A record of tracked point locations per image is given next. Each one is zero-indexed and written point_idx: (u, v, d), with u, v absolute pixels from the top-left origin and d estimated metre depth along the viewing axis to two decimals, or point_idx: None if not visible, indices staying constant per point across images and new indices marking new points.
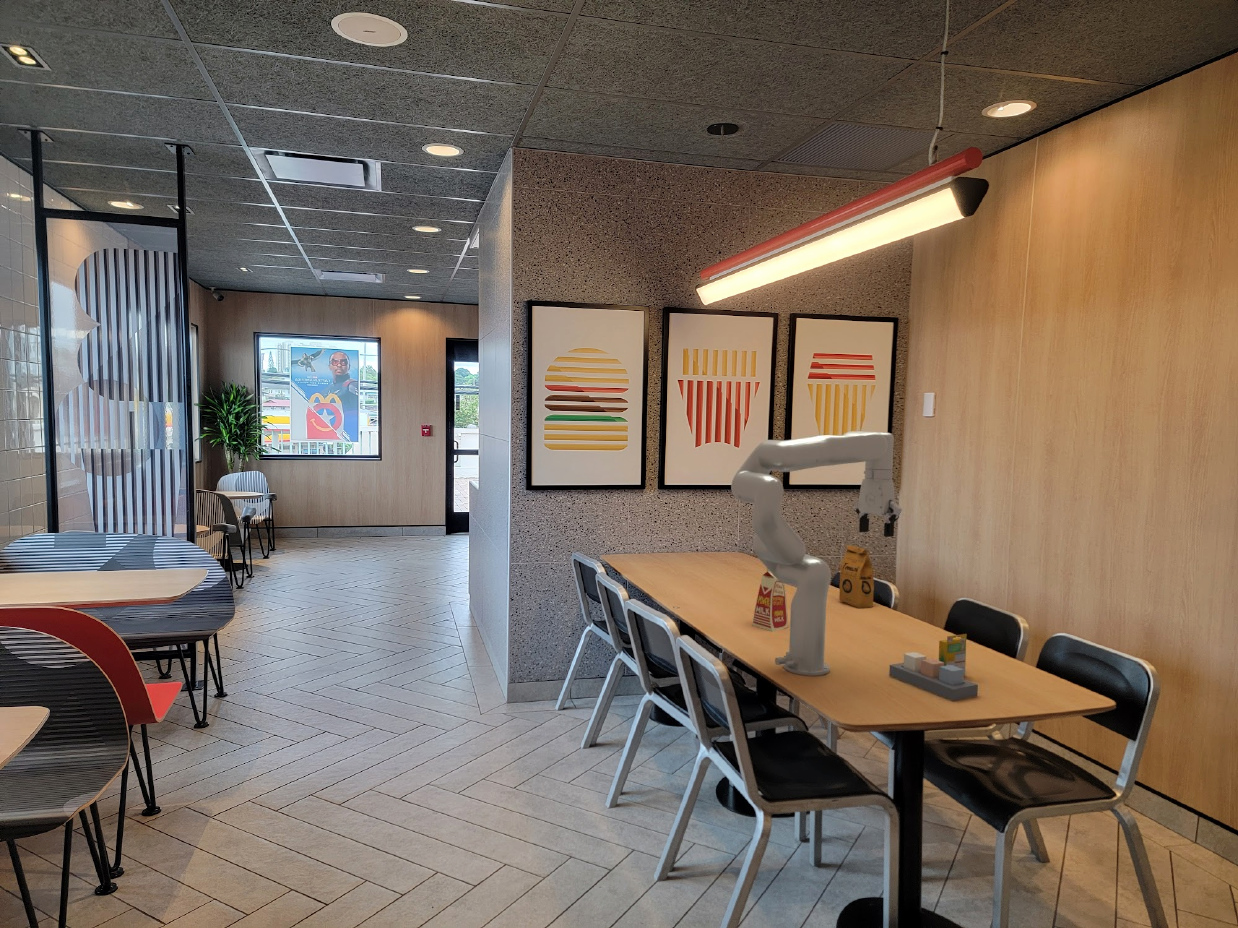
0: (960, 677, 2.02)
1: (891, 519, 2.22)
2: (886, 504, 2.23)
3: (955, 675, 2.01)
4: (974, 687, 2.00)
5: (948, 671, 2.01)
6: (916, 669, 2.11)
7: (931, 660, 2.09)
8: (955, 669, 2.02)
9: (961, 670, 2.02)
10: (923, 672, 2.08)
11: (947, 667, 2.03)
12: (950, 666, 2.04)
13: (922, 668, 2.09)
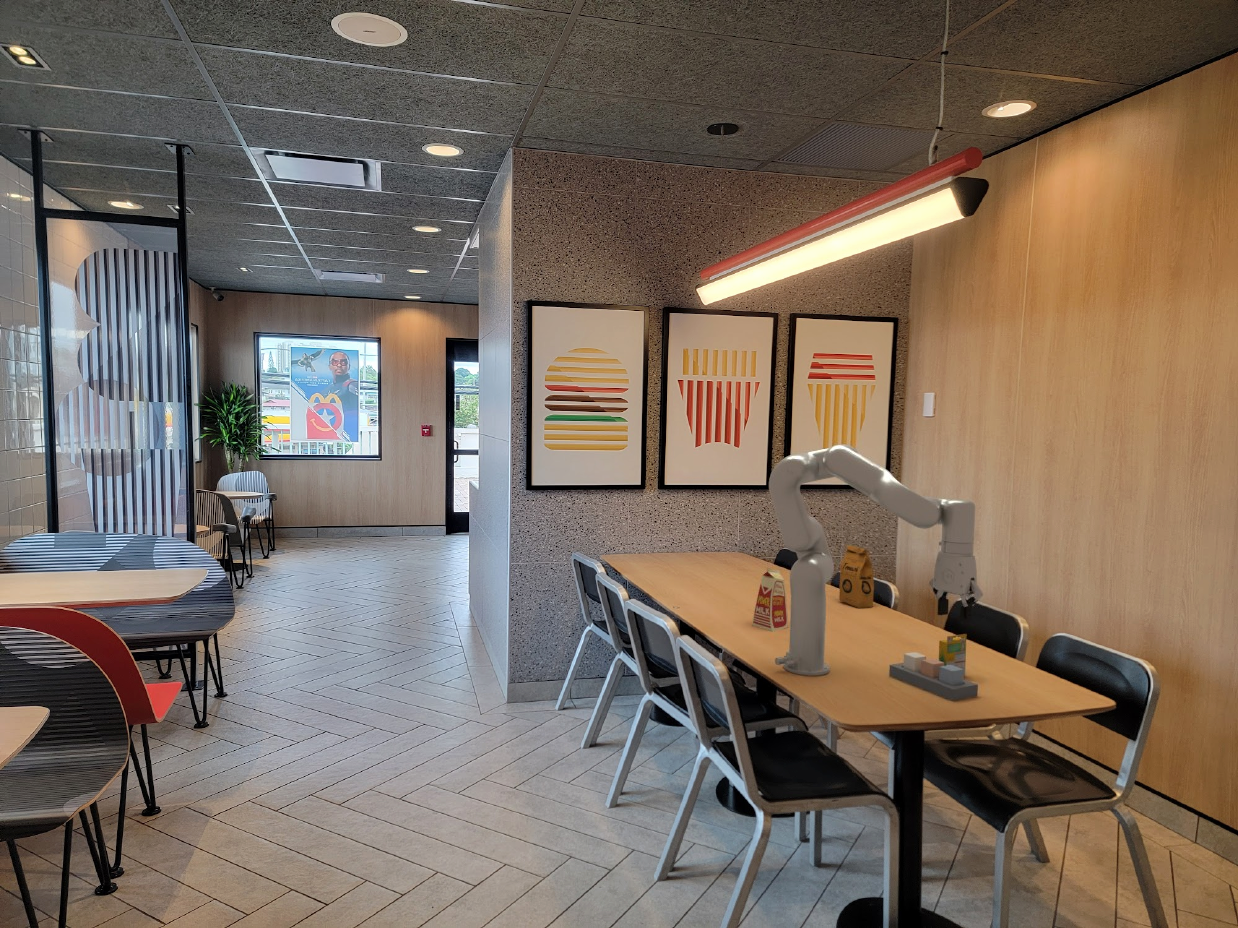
0: (960, 677, 2.02)
1: (969, 602, 1.97)
2: (968, 583, 1.96)
3: (955, 675, 2.01)
4: (974, 687, 2.00)
5: (948, 671, 2.01)
6: (916, 669, 2.11)
7: (931, 660, 2.09)
8: (955, 669, 2.02)
9: (961, 670, 2.02)
10: (923, 672, 2.08)
11: (947, 667, 2.03)
12: (950, 666, 2.04)
13: (922, 668, 2.09)
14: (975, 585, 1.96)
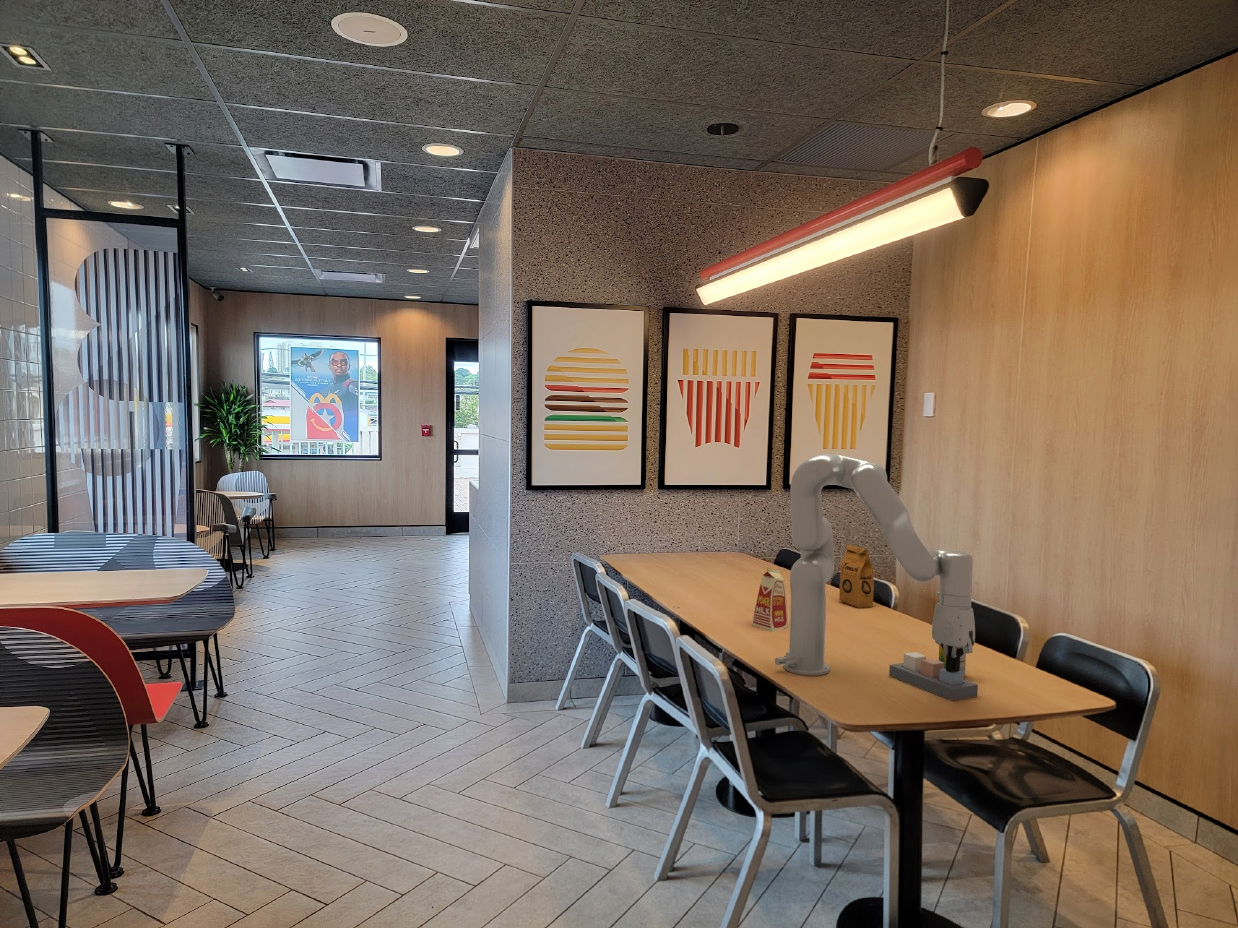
0: (960, 680, 2.02)
1: (957, 653, 2.00)
2: (966, 636, 1.97)
3: (954, 678, 2.01)
4: (974, 687, 2.00)
5: (947, 674, 2.01)
6: (916, 669, 2.11)
7: (931, 660, 2.09)
8: (955, 672, 2.02)
9: (961, 673, 2.02)
10: (923, 672, 2.08)
11: None
12: None
13: (922, 668, 2.09)
14: (969, 641, 1.98)
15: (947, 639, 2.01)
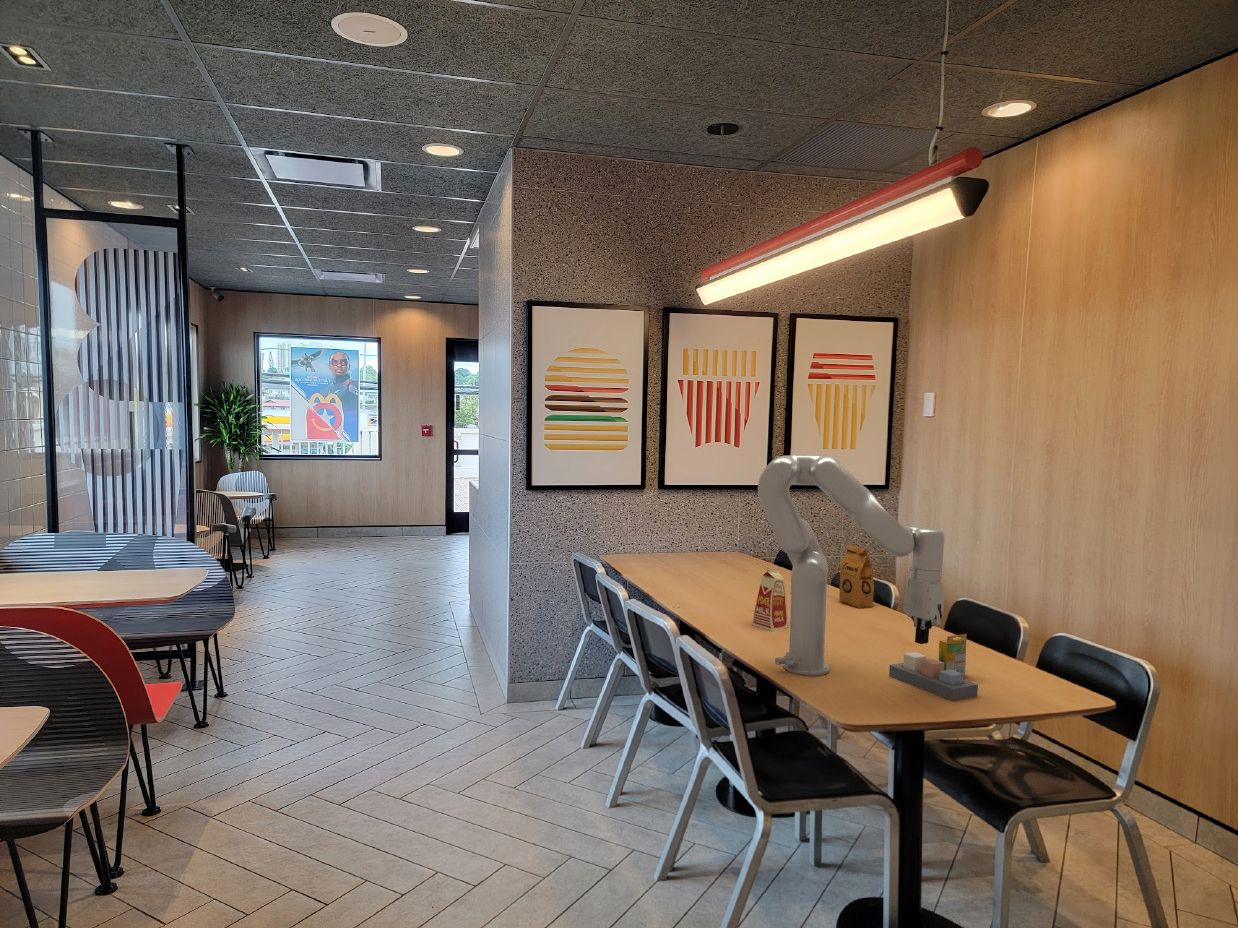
0: (960, 682, 2.02)
1: (926, 626, 2.08)
2: (934, 609, 2.05)
3: (954, 680, 2.01)
4: (974, 687, 2.00)
5: (947, 676, 2.01)
6: (916, 669, 2.11)
7: (931, 660, 2.09)
8: (955, 674, 2.02)
9: (961, 675, 2.02)
10: (923, 672, 2.08)
11: (947, 672, 2.03)
12: (950, 671, 2.04)
13: (922, 668, 2.09)
14: (937, 614, 2.06)
15: (917, 612, 2.09)
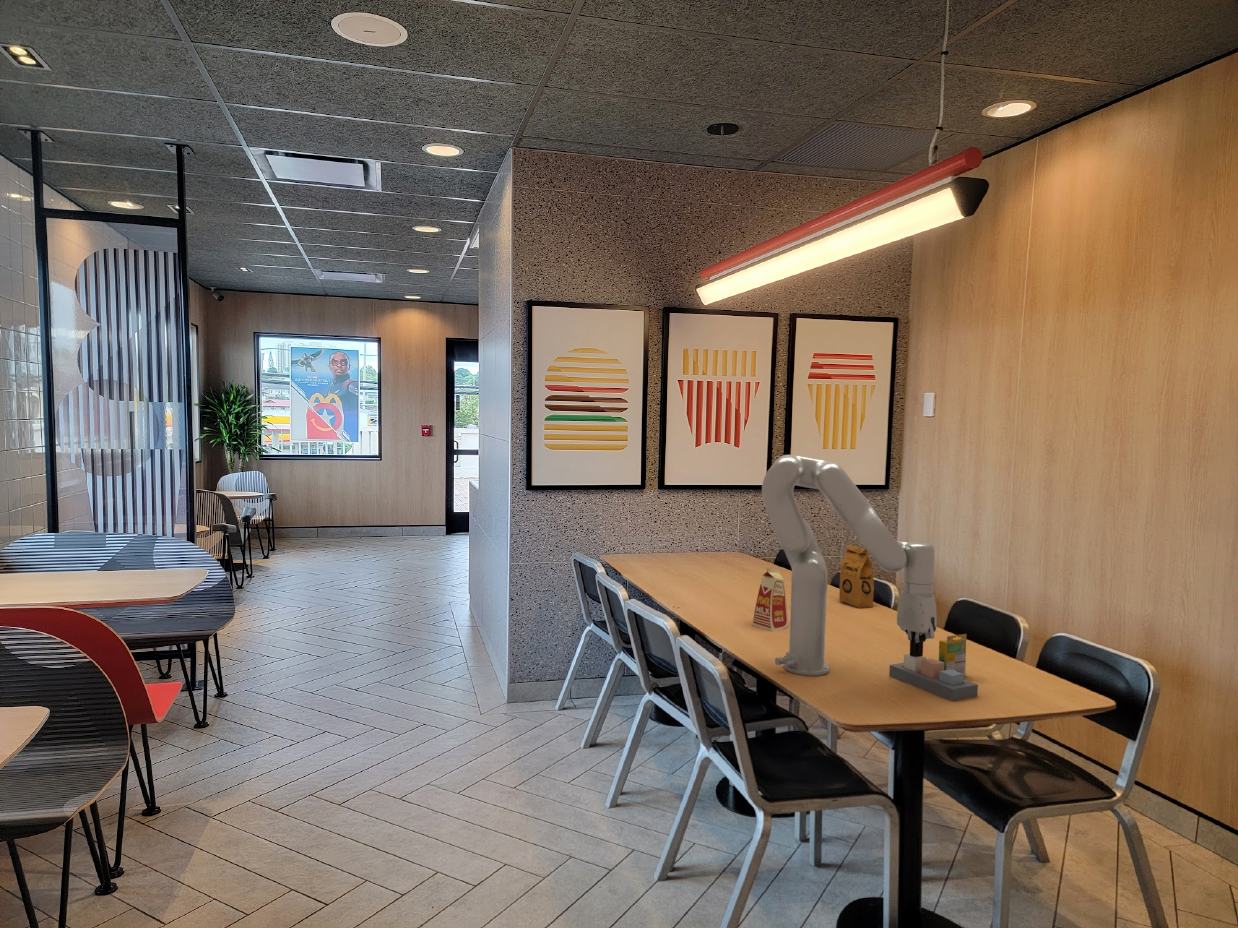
0: (960, 682, 2.02)
1: (920, 639, 2.11)
2: (928, 622, 2.08)
3: (954, 680, 2.01)
4: (974, 687, 2.00)
5: (947, 676, 2.01)
6: (916, 670, 2.11)
7: (931, 660, 2.09)
8: (955, 674, 2.02)
9: (961, 675, 2.02)
10: (923, 672, 2.08)
11: (947, 672, 2.03)
12: (950, 671, 2.04)
13: (922, 668, 2.09)
14: (931, 627, 2.09)
15: (910, 625, 2.11)
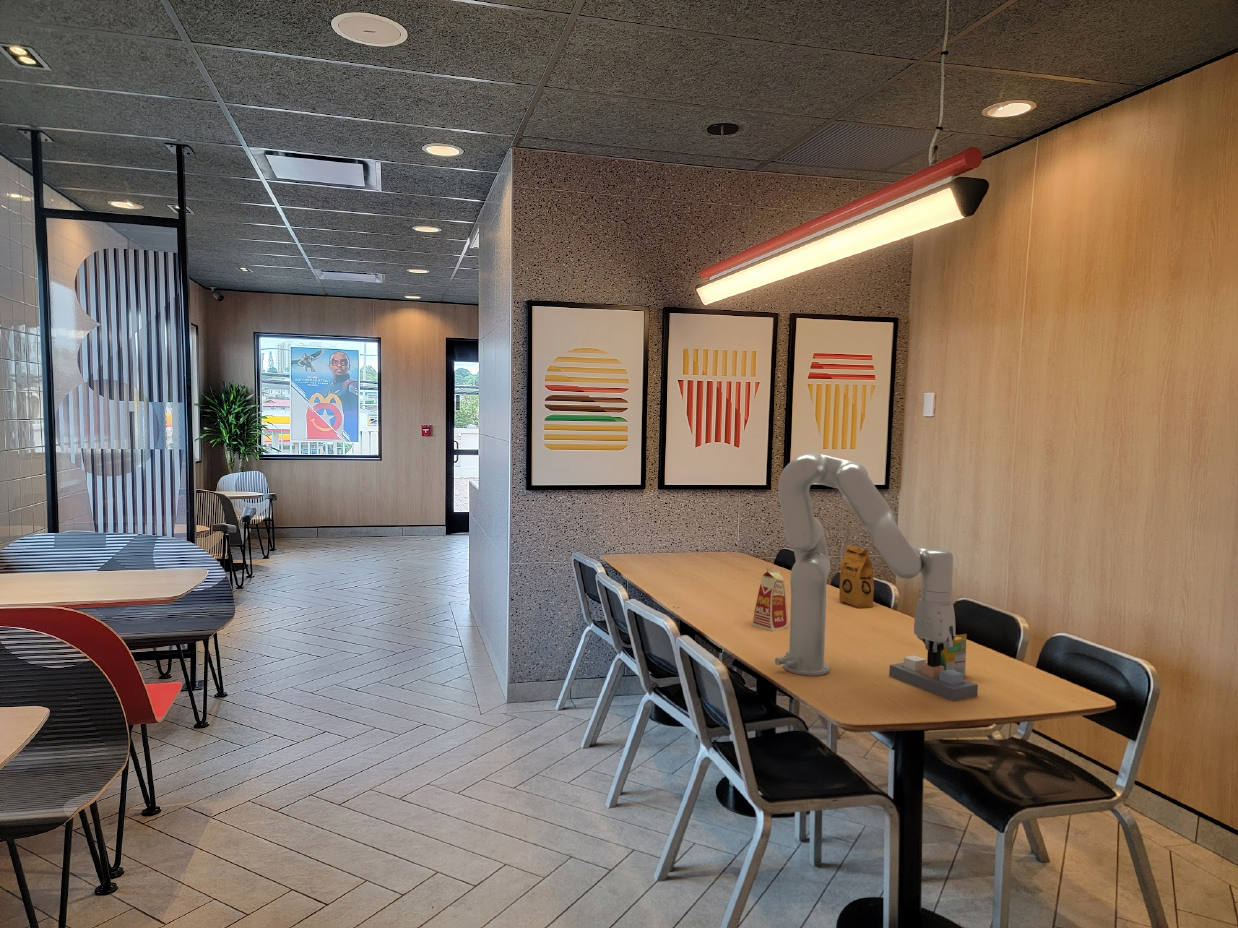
0: (960, 682, 2.02)
1: (938, 648, 2.06)
2: (946, 631, 2.02)
3: (954, 680, 2.01)
4: (974, 687, 2.00)
5: (947, 676, 2.01)
6: None
7: None
8: (955, 674, 2.02)
9: (961, 675, 2.02)
10: None
11: (947, 672, 2.03)
12: (950, 671, 2.04)
13: (922, 672, 2.09)
14: (949, 636, 2.03)
15: (928, 634, 2.06)
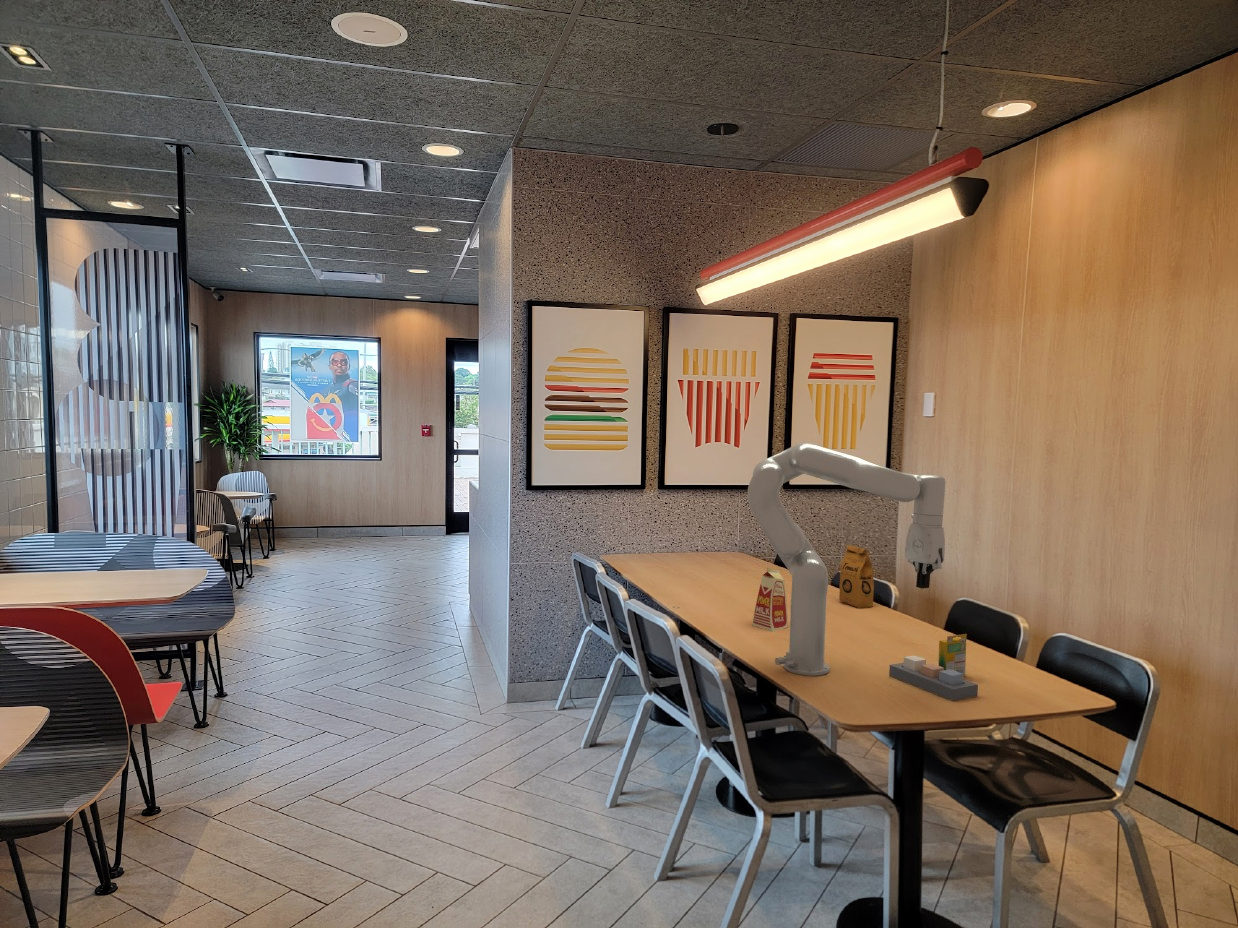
0: (960, 682, 2.02)
1: (927, 570, 2.12)
2: (935, 552, 2.09)
3: (954, 680, 2.01)
4: (974, 687, 2.00)
5: (947, 676, 2.01)
6: None
7: (931, 665, 2.09)
8: (955, 674, 2.02)
9: (961, 675, 2.02)
10: None
11: (947, 672, 2.03)
12: (950, 671, 2.04)
13: (922, 673, 2.09)
14: (938, 558, 2.10)
15: (918, 556, 2.12)
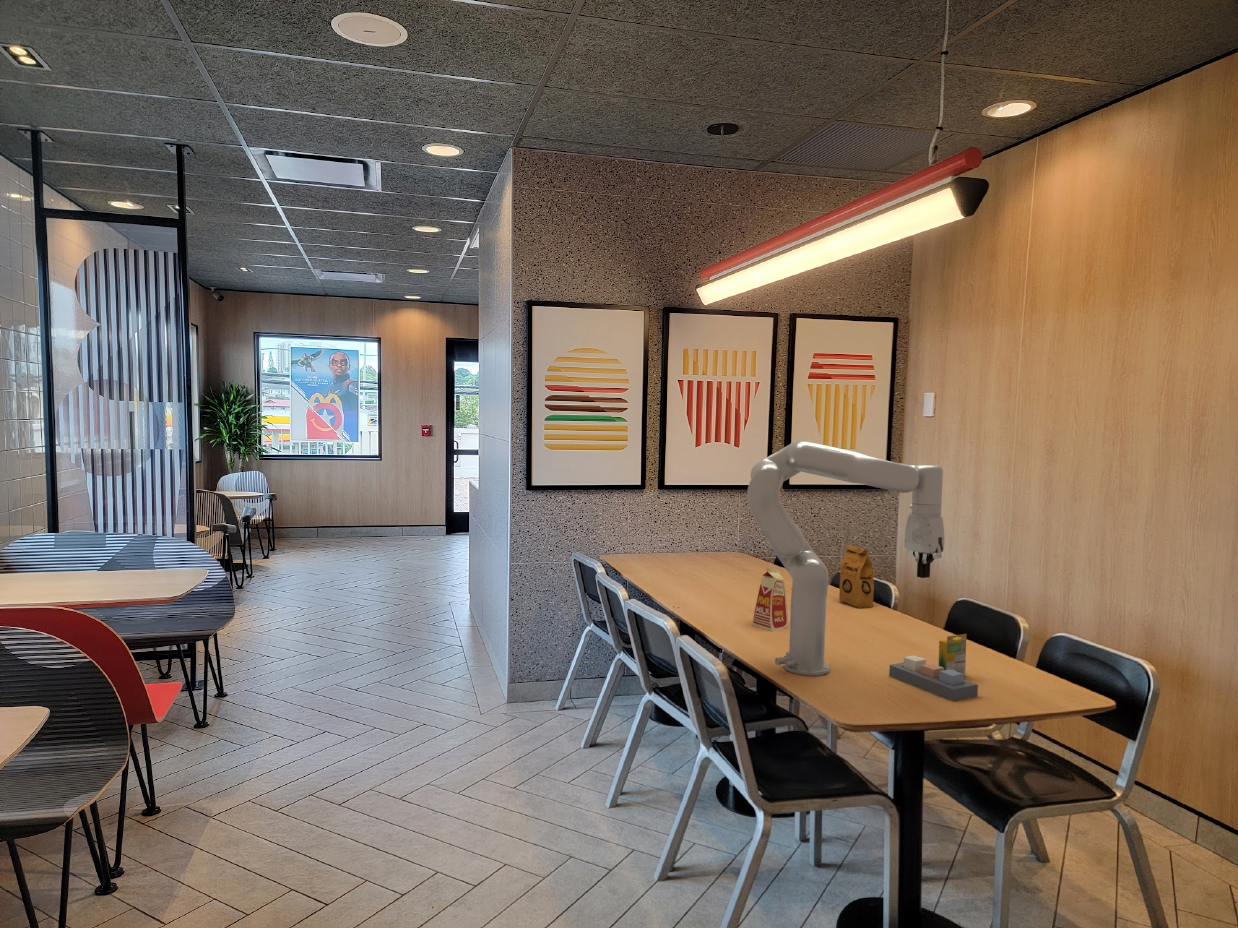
0: (960, 682, 2.02)
1: (927, 560, 2.13)
2: (935, 542, 2.10)
3: (954, 680, 2.01)
4: (974, 687, 2.00)
5: (947, 676, 2.01)
6: None
7: (931, 665, 2.09)
8: (955, 674, 2.02)
9: (961, 675, 2.02)
10: None
11: (947, 672, 2.03)
12: (950, 671, 2.04)
13: (922, 673, 2.09)
14: (938, 547, 2.11)
15: (918, 546, 2.14)
